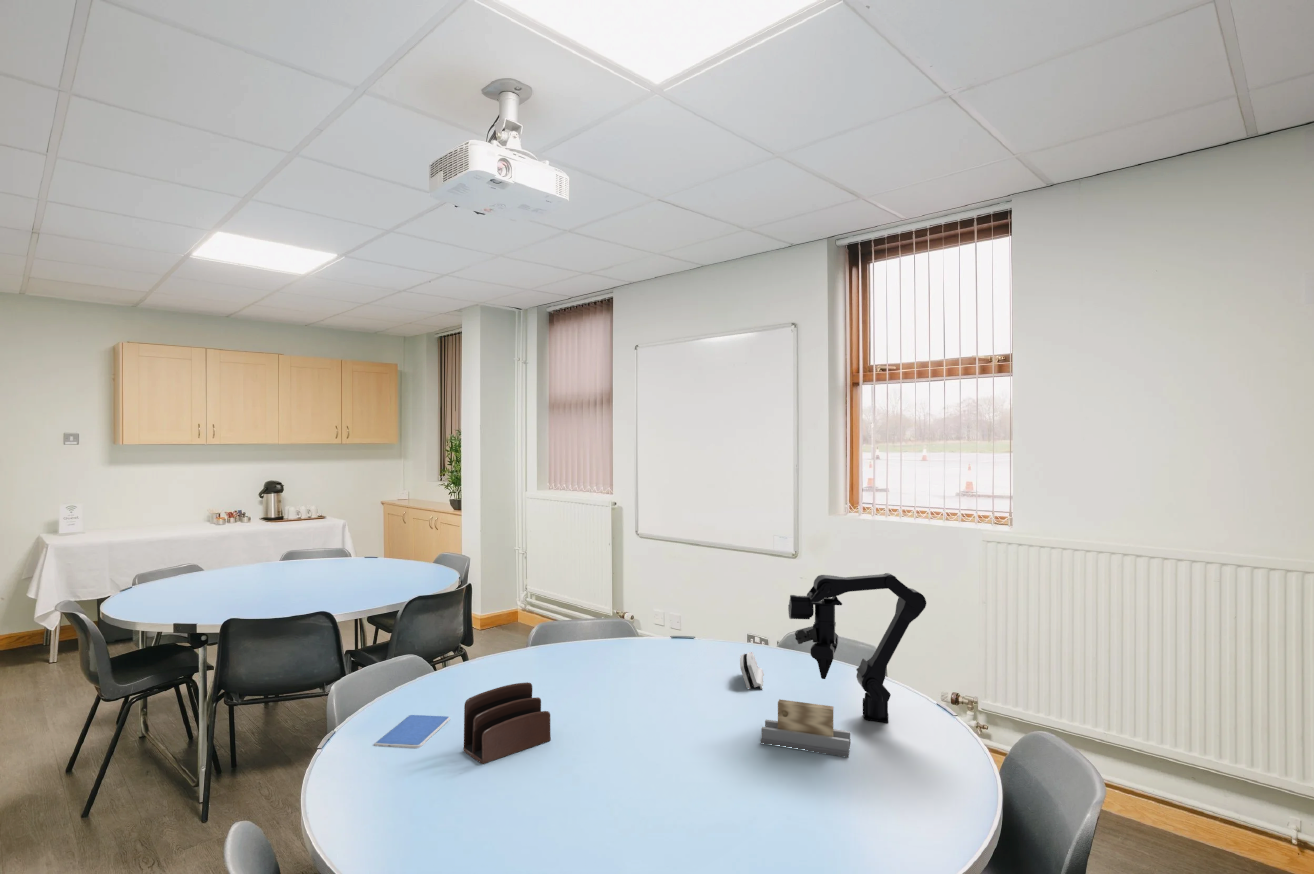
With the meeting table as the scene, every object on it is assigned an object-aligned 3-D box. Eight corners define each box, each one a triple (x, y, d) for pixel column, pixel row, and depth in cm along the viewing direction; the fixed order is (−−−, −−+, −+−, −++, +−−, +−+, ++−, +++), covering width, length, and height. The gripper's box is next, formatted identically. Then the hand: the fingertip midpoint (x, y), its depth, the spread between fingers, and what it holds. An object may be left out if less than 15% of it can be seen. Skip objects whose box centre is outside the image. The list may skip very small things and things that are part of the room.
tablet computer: (419, 750, 165) (419, 745, 165) (372, 747, 167) (372, 742, 167) (451, 720, 185) (451, 716, 185) (409, 718, 186) (409, 713, 186)
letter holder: (462, 752, 164) (463, 695, 164) (530, 730, 178) (531, 677, 178) (482, 765, 157) (483, 706, 157) (551, 741, 170) (551, 687, 171)
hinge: (762, 690, 210) (752, 659, 211) (748, 694, 211) (738, 664, 212) (764, 673, 226) (754, 645, 227) (751, 677, 227) (741, 649, 228)
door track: (850, 742, 170) (850, 729, 171) (848, 757, 162) (848, 743, 162) (766, 730, 178) (766, 717, 178) (760, 743, 169) (760, 730, 170)
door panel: (833, 741, 169) (833, 706, 169) (832, 746, 166) (832, 710, 166) (779, 733, 174) (779, 699, 174) (777, 738, 171) (777, 703, 171)
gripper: (801, 610, 201) (801, 661, 201) (792, 624, 184) (792, 680, 183) (838, 613, 198) (838, 665, 197) (833, 628, 180) (833, 685, 179)
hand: (824, 673), depth 189 cm, fingers open, 9 cm apart
